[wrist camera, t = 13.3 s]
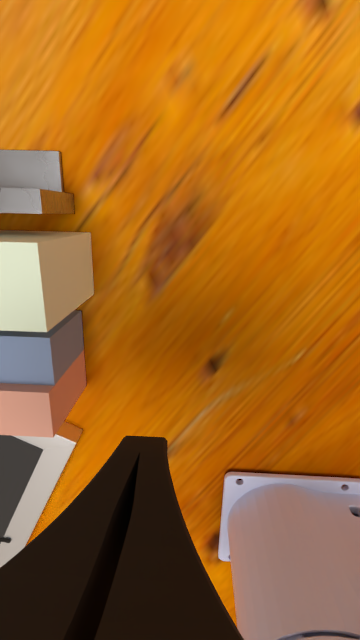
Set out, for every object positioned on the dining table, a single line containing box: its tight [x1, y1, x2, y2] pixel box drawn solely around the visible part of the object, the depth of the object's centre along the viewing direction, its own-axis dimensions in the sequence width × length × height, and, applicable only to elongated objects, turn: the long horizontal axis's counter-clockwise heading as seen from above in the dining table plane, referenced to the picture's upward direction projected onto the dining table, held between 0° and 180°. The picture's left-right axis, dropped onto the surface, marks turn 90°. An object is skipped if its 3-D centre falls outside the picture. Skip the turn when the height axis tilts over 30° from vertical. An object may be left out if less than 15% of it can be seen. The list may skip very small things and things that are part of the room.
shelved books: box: [0, 310, 86, 438], centre depth 18 cm, size 6×5×5 cm
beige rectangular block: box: [0, 230, 94, 332], centre depth 16 cm, size 6×4×6 cm, turn 89°
